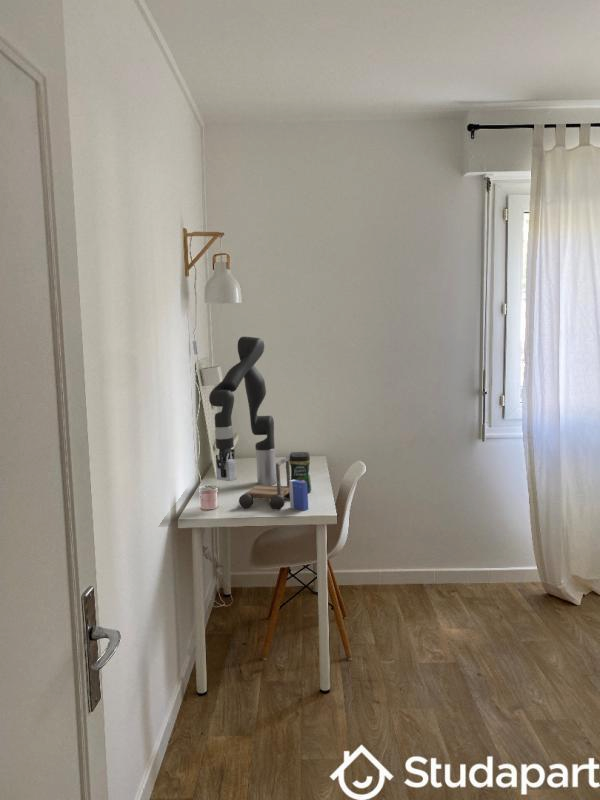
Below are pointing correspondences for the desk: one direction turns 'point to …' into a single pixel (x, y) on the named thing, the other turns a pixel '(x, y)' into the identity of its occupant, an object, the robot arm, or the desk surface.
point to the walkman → (298, 494)
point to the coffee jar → (300, 467)
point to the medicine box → (228, 471)
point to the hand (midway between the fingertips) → (226, 475)
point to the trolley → (269, 490)
